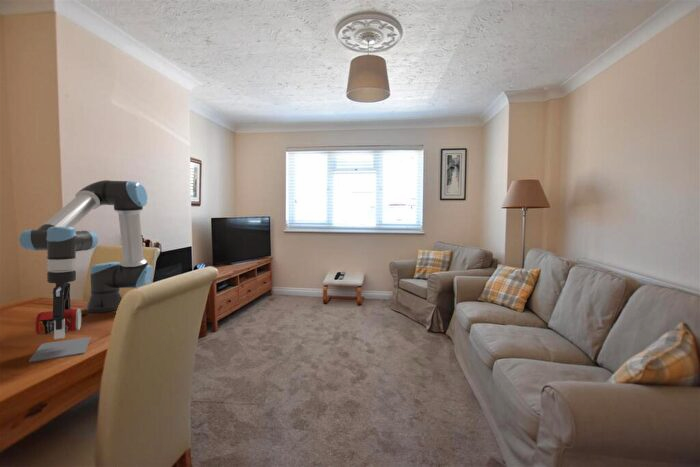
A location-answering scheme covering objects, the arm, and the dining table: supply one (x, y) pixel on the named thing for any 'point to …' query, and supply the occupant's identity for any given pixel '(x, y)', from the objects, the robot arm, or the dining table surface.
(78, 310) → the canned food
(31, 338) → the dining table surface
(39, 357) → the rubber mat
